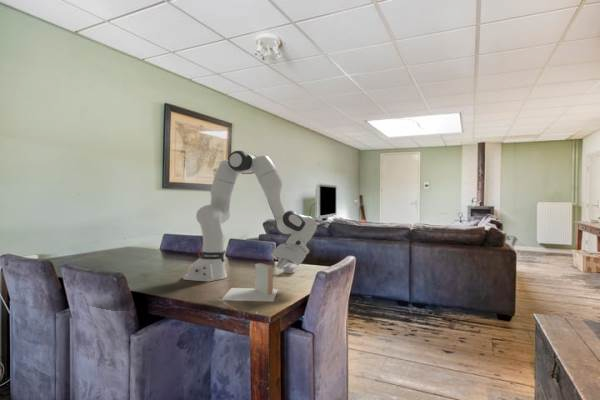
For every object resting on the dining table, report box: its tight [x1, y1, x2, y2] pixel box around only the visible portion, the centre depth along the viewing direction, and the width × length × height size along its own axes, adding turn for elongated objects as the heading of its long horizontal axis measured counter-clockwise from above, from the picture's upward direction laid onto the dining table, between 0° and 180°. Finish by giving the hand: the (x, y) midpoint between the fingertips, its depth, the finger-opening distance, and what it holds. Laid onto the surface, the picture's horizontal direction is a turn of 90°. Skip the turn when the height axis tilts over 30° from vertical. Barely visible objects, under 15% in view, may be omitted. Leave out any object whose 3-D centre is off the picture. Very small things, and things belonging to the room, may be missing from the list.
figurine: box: [282, 263, 299, 274], centre depth 190 cm, size 7×9×15 cm
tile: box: [254, 262, 274, 295], centre depth 150 cm, size 3×10×12 cm, turn 39°
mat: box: [220, 287, 279, 302], centre depth 146 cm, size 22×18×1 cm
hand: (278, 267), depth 155 cm, fingers closed
